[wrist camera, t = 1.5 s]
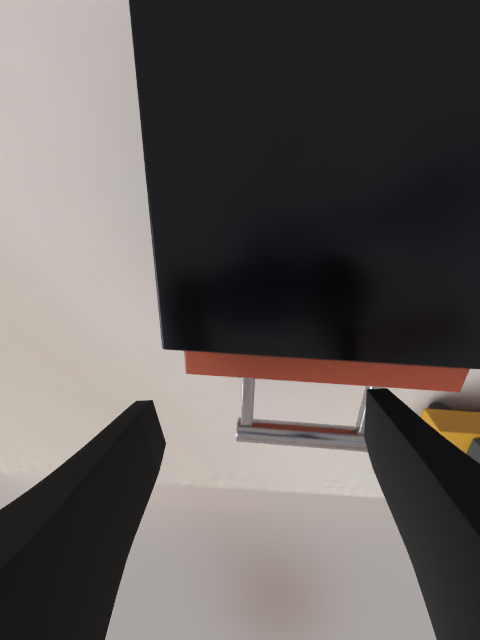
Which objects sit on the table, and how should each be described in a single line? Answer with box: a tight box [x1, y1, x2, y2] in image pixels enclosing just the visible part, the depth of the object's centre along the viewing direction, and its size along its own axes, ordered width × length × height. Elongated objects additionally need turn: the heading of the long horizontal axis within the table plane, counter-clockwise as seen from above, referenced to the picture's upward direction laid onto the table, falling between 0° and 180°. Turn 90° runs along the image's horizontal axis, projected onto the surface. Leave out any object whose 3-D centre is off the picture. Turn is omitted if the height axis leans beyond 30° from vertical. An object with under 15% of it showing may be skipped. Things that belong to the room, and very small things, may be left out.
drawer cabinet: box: [129, 0, 480, 369], centre depth 11 cm, size 15×13×7 cm
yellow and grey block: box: [421, 403, 480, 464], centre depth 19 cm, size 6×4×4 cm, turn 88°
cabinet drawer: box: [184, 351, 469, 452], centre depth 13 cm, size 19×11×5 cm, turn 178°
